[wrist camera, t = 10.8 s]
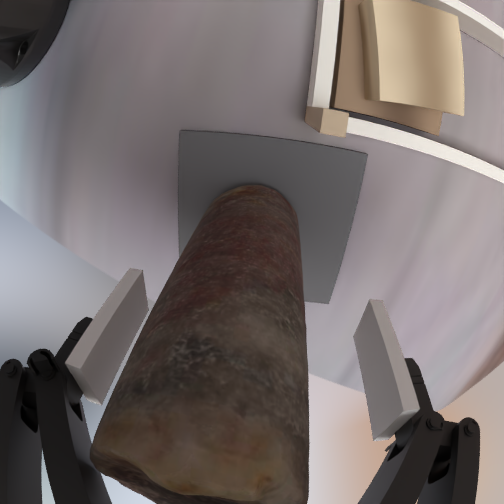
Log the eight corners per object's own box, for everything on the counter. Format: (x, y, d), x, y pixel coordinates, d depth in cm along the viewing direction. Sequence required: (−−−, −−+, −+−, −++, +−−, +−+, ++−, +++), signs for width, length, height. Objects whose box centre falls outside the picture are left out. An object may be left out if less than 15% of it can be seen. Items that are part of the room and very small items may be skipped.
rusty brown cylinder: (225, 275, 25) (167, 516, 8) (187, 202, 22) (33, 450, 5) (309, 250, 24) (340, 522, 6) (279, 167, 20) (281, 502, 3)
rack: (304, 121, 19) (319, 133, 12) (320, -29, 12) (338, -80, 5) (539, 199, 18) (584, 232, 11) (556, 94, 12) (605, 108, 5)
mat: (181, 282, 27) (180, 284, 27) (181, 130, 20) (179, 130, 20) (328, 301, 26) (328, 303, 26) (366, 153, 19) (367, 154, 19)
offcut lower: (326, 106, 19) (334, 107, 16) (336, 2, 14) (345, -11, 11) (420, 130, 18) (438, 136, 16) (430, 32, 14) (448, 27, 11)
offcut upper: (364, 99, 15) (379, 100, 13) (358, 5, 12) (371, -9, 9) (441, 111, 15) (463, 116, 12) (436, 23, 11) (457, 16, 9)
